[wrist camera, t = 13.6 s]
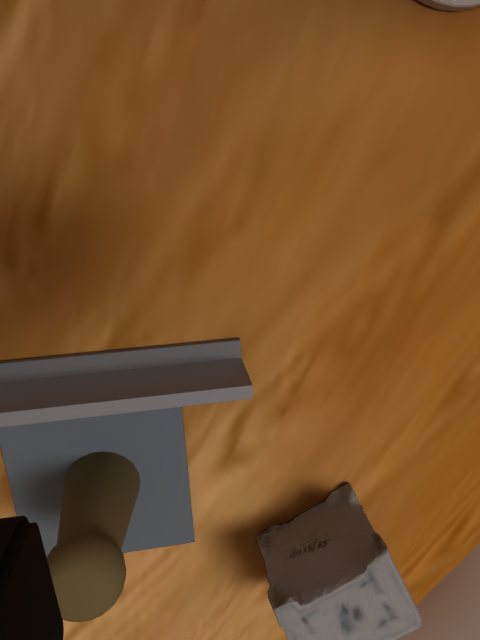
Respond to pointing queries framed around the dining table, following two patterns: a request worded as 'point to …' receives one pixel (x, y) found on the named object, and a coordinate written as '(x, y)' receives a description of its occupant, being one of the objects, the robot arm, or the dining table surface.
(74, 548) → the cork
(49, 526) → the slate mat
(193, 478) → the dining table surface
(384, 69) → the dining table surface
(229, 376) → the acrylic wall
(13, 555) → the robot arm
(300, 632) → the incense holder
